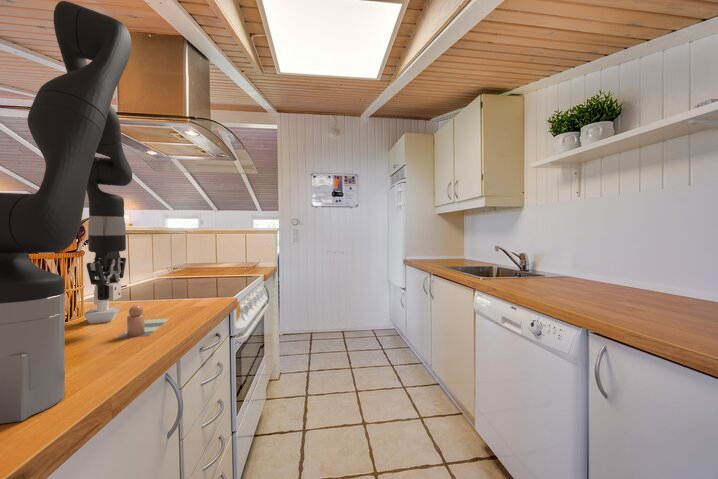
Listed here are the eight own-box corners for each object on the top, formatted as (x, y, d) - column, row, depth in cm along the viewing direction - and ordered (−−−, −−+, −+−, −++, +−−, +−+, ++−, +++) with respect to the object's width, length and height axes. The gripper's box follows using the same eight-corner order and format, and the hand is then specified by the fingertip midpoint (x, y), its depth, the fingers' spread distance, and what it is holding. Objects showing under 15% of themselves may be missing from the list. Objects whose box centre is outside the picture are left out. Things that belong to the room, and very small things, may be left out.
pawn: (141, 336, 74) (141, 306, 74) (124, 337, 73) (124, 307, 73) (146, 331, 77) (146, 303, 77) (131, 332, 76) (131, 304, 76)
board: (148, 338, 74) (148, 335, 74) (115, 340, 72) (115, 338, 72) (169, 320, 89) (169, 318, 89) (143, 322, 87) (143, 320, 87)
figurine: (81, 328, 81) (81, 275, 81) (92, 319, 89) (92, 271, 89) (114, 324, 84) (114, 274, 84) (121, 316, 93) (122, 270, 92)
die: (113, 300, 75) (113, 285, 75) (95, 301, 74) (94, 285, 74) (121, 296, 79) (121, 282, 79) (104, 297, 78) (103, 282, 78)
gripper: (109, 234, 70) (110, 303, 71) (136, 233, 84) (137, 291, 84) (71, 234, 68) (73, 305, 69) (105, 232, 82) (106, 292, 82)
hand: (108, 297), depth 77 cm, fingers closed on die, 4 cm apart
